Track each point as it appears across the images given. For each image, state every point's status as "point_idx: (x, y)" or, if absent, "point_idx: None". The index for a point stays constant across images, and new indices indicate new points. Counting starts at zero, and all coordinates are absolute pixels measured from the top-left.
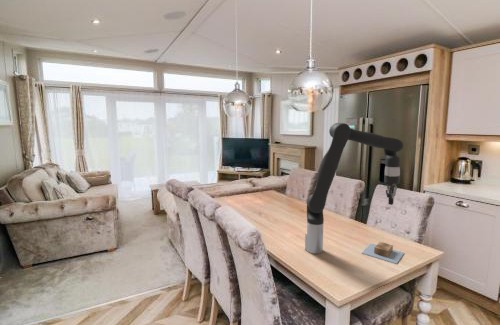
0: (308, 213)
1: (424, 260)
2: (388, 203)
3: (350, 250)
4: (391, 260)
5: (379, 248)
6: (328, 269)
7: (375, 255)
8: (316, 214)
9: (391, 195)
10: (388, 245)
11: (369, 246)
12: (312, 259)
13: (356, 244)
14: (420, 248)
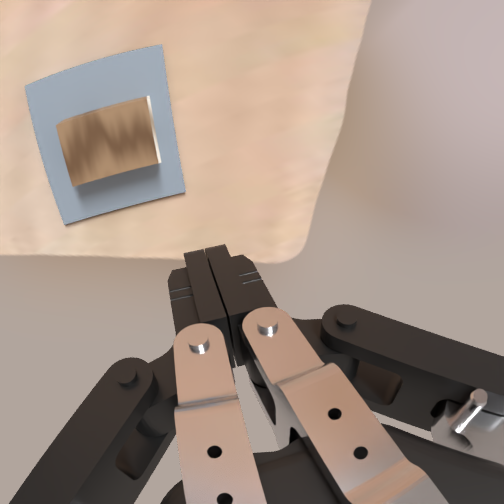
0: None
1: None
2: (185, 255)
3: (18, 37)
4: (67, 200)
5: (63, 147)
6: None
7: (50, 136)
8: None
9: (118, 468)
10: (136, 152)
11: (116, 60)
12: None
13: (102, 5)
14: (288, 207)
